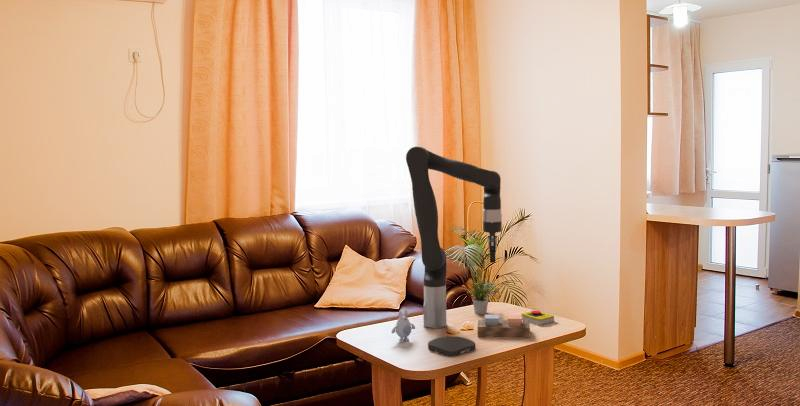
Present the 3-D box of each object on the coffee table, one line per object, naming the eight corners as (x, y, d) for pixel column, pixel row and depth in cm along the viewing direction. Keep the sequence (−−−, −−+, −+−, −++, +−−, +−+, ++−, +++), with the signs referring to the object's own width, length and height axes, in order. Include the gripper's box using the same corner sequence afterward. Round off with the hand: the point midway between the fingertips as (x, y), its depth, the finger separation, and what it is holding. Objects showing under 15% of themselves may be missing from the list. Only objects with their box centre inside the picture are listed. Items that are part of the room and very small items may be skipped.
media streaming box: (451, 340, 226) (451, 333, 225) (480, 349, 214) (479, 341, 214) (423, 349, 216) (423, 341, 216) (451, 359, 205) (451, 350, 205)
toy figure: (396, 345, 220) (395, 314, 219) (387, 341, 225) (387, 311, 224) (419, 340, 225) (419, 310, 224) (411, 336, 231) (410, 306, 230)
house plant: (500, 317, 255) (500, 280, 254) (469, 318, 255) (468, 281, 253) (494, 309, 269) (494, 274, 268) (464, 309, 269) (464, 274, 268)
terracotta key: (507, 329, 229) (507, 318, 228) (507, 325, 234) (507, 314, 234) (522, 329, 228) (522, 319, 227) (521, 325, 233) (521, 315, 233)
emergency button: (532, 306, 257) (559, 314, 244) (533, 316, 257) (559, 324, 245) (517, 310, 252) (543, 317, 239) (517, 320, 252) (543, 328, 240)
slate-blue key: (484, 329, 230) (484, 318, 230) (484, 324, 236) (484, 314, 235) (499, 329, 229) (499, 318, 229) (499, 325, 235) (498, 314, 234)
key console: (477, 336, 229) (477, 326, 228) (478, 329, 238) (478, 319, 238) (529, 338, 225) (529, 328, 225) (528, 330, 235) (528, 320, 235)
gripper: (483, 218, 245) (483, 259, 246) (482, 222, 232) (483, 265, 233) (501, 218, 244) (501, 259, 245) (501, 221, 231) (502, 265, 232)
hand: (492, 262), depth 239 cm, fingers closed
